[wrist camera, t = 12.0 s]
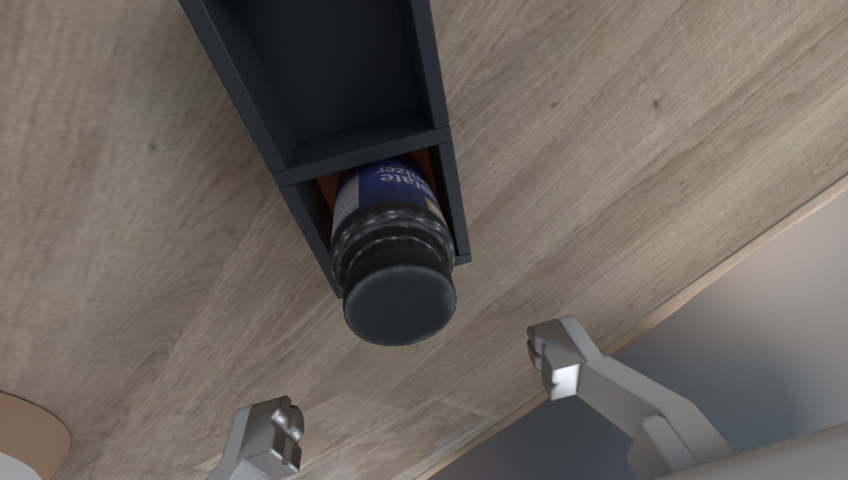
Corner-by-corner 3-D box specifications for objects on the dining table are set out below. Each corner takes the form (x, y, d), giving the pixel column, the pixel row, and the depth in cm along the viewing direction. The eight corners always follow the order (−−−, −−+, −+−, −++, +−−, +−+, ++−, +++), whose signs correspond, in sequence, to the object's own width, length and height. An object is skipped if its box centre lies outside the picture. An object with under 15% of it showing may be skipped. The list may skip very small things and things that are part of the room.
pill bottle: (444, 174, 23) (504, 283, 14) (398, 240, 25) (424, 369, 16) (362, 127, 20) (371, 225, 11) (319, 207, 22) (299, 339, 13)
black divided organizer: (206, -31, 15) (153, -45, 11) (395, -80, 16) (411, -112, 11) (340, 253, 26) (338, 299, 22) (453, 221, 26) (472, 261, 22)
